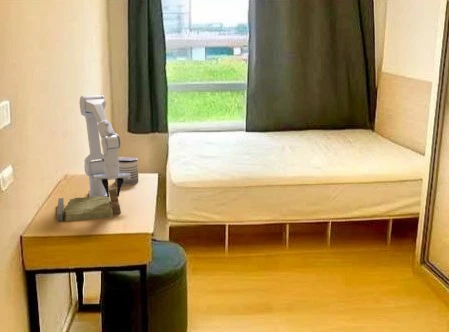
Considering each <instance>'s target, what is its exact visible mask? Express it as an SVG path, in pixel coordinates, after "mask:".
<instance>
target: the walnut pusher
mask: <svg viewBox="0 0 449 332" xmlns="http://www.w3.org/2000/svg"><path fill="white" fill-rule="evenodd" d="M108 190H109V198H110V201H111V205H112V210H113V215H116V214H120V213H122V212H121V207H120V203H119V197H118V196H117V186H115V187H108Z"/></svg>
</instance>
